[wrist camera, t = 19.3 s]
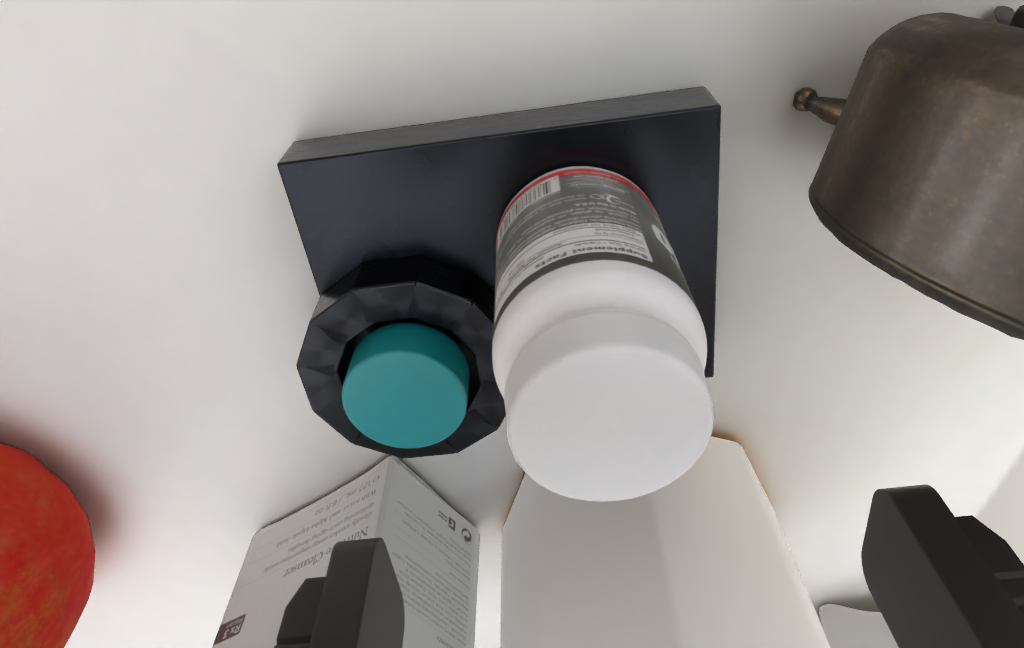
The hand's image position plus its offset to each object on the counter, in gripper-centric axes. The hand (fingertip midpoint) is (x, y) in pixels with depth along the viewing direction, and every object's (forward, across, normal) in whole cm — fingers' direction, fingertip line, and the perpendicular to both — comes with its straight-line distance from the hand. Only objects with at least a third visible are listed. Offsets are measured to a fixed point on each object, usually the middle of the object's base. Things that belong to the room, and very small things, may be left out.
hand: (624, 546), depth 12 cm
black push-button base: (+13, +2, +1) cm, 13 cm away
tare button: (+10, +5, +3) cm, 11 cm away
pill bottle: (+11, 0, 0) cm, 11 cm away
